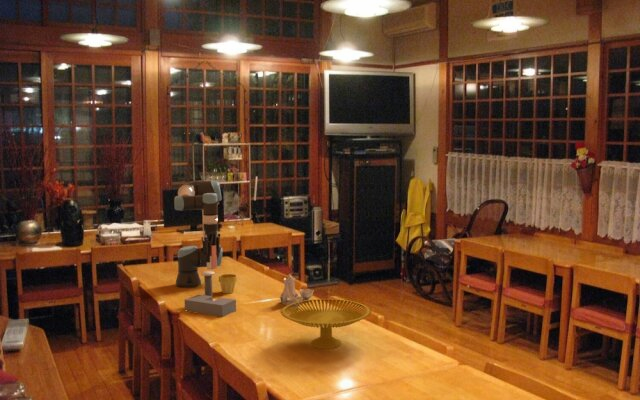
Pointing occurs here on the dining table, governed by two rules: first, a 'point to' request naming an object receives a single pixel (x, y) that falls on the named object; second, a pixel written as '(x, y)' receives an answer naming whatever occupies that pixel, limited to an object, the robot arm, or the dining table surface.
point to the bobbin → (208, 282)
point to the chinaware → (293, 292)
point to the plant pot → (227, 282)
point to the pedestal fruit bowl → (325, 318)
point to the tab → (213, 256)
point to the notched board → (210, 305)
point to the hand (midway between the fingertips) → (211, 267)
